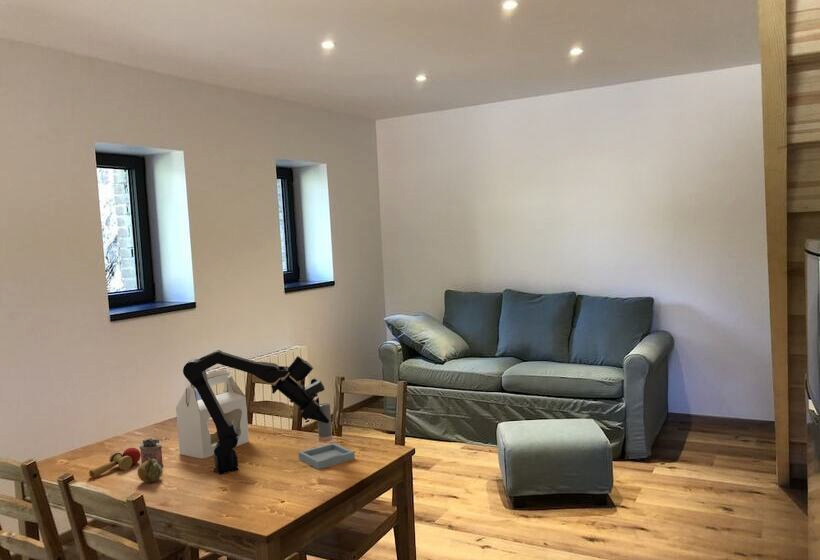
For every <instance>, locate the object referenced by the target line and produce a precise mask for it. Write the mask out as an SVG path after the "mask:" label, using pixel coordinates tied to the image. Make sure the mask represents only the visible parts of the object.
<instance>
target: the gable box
mask: <svg viewBox="0 0 820 560" xmlns="http://www.w3.org/2000/svg"><path fill="white" fill-rule="evenodd" d="M206 375H207V380H208V383H209V385H210V387H214V386H216V385H219V384H223V387H222V388H223V389H222V392H221V393H218V394H214V395H215V397H216V399H217V401H218V402H219V404H220V406H221V408H222V410H223V412H224V414H225V416H226V418H227V419H228V420H229V421H230V422H233V421H235V423H236V426H237V428H238V429H239V430H240V432H239V440H238V443H237V445H236V447H238V446H239V447H240V446H241V445H244V444H246V443H249V441H250V437H249V425H248V408H247V398H246V395H245V394H244V393H243V391H242V389H240V387H239V386H238V384H237V383H236V382H235V380H234V376H230V372H228V371H227V370H226V369H222V370H220V371H214V372H211V373H206ZM196 391H197V389H196V388H195V387H194V386H193V385H192V384H191V383H190V386H187V387H186V388H185V390H184V392H183V394H182V396H181V397H180V399H179V402H178V403H177V405H176V407H175V414H176V423H177V424H176V425H177V436H178V448H179V449H178V450H179V455H183V456H187V457H192V458H196V459H202V460H205V459H208V458H210V457H212V456H214V449H215V447H216V444H217V442H218V441H219V438H218V435H217V430H216V432H214V433H210V429H209V427H208V421H209V419H210V418H211V416H210V414H209V412H208V410H207V408H206V406H205V404H204V402H203V400H202V399H201V398H200V399H197V396H196Z"/></svg>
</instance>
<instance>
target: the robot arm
mask: <svg viewBox="0 0 820 560" xmlns="http://www.w3.org/2000/svg"><path fill="white" fill-rule="evenodd" d="M215 365H221V366H225V367H228V368H231V369H235V370H237V371H241V372H245V373H249V374H251V375H253V376H255V377H256V378H258V379H260V380H262V381H263V382H266V383H268V384H271V393H272V394H274V395H275V394H276V392H277V391H279V392H280V393H281V394H282V395H284V396H285V397H286V398H287V399H289V402H290V403H291V404H294V405H295V406H297V407H298V409H299V410H300V412H301V414H300V415H301V418H302V419H303V420H305V421H307V420H309V419H310V420H311V421H312V420H314V421H317V422H318V421H320V422H324V423H328V422H329V420H328V418H327V417H326V416H325V415H324V414H323V413H322V411H321V410H320V407H319V404H320V397H319V396H318V394H319V393H322V392H323V391H325V386H324V384H323V382H322V380H321V379H316V378H315V377H314V378H312V379H311V380H310V384H308V385H306V386H304V385H303V384H302V385H300V384H299V383H298V382H300V381H301V382H303V381H304V380H305V379H306V377H308V376H309V374H311V372H312V371H313V370H314V367H313V366H312V365H311V364H310V363H309V362H308V361H307V360H305V359H303V358H302V357H300V356H299V355H296V357H295V358H294V360H293V361H292V363H291V364H290V365H288V366H285V365H284V366H282V365H278V364H277V363H276V362H275V363H274V362H267V361H254V360H252V359H247V358H245V357H241V356H238V355H235V354H234V355H233V354H231V353H228V352H224V351H223V350H220V349H217V350H214V351H213V352H211V353H208V354H206V355H204V356H202V357H200V358H191V359H190V360H189V361H187V362H186V363H185V364H184V366H183V369H182V373H183V375H184V377H185V378H186V379H187V381H188V382H189V383H190V385H191V384H192V385H193V386H194V387H195V388H196V389H197V390H196V391H197V393H198V394H199V396H200V399H202V400H203V402H204V404H205V406H206V408H207V410H208V412H209V414H210V416H211V417H210V418H211V420H212V421H213V423H214V426H215V428H216V431H217V435H218V438H219V441H218V442H217V444H216V447H215V449H214V455H213V456H214V457H213V458H214V468H213V469H212V470H213V471H214V472H216V473H217V474H219V475H223V474H226V473H231V472H235V471H238V470H239V467H238V466H239V465H238V461H239V460H238V454H237V453H236V450H235V449H234V448H236V447H237V446H236V445H237V443H238V440H239V432H240V430H239V429H238V428H237V426H236V423H235V421H233V422H230V421H229V420H228V419H227V418H226V416H225V414H224V412H223V410H222V408H221V406H220V404H219V402H218V401H217V399H216V397H215V395H216V394H215V393H214V391H213V388H212V386H210V385H209V383H208V380H207V375H206V374H207V372H206V371H207V370H208V369H210V368H211V367H213V366H215ZM315 397H317V398H316V399H315Z"/></svg>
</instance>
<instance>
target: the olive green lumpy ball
mask: <svg viewBox="0 0 820 560" xmlns="http://www.w3.org/2000/svg"><path fill="white" fill-rule="evenodd" d="M148 459H149V460H148V461H146V462H144V463H141V464H140V465H139V467H138V470H137V476H138V478H139V480H141V481H143V482H145V483H147V484H149V483H153V482H156V481H158V480H159V479H160V478H161V477H162V474H163V468H161V466H160V465H159V464H158V462H157V460H155V459H150V458H148Z"/></svg>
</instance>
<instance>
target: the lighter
mask: <svg viewBox="0 0 820 560" xmlns="http://www.w3.org/2000/svg"><path fill="white" fill-rule="evenodd" d="M159 443H160V439H159V438H152V437H149V438H148V439H147V438H146V439H145V438H144V439H142V444H141V445H139V449H140V450H139V451H140V454H141V457H140V461H141V464H142V463H144V462H146V461H148V460H149V459H148V458H150V459H155V460H157V462H158V464H159V465H160V466H161V468H162V469H163V468H164V463H163V453H162V449H163V448H162V446H163V445H162V444H159Z"/></svg>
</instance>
